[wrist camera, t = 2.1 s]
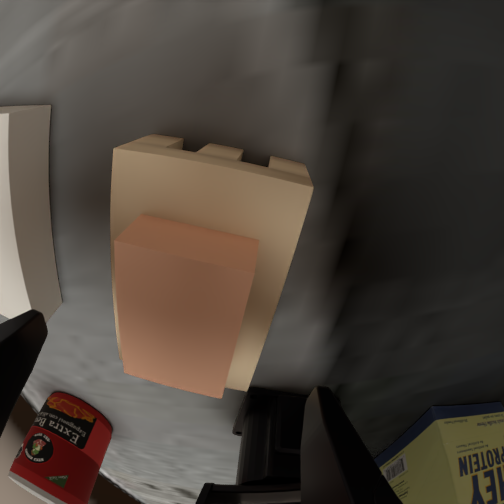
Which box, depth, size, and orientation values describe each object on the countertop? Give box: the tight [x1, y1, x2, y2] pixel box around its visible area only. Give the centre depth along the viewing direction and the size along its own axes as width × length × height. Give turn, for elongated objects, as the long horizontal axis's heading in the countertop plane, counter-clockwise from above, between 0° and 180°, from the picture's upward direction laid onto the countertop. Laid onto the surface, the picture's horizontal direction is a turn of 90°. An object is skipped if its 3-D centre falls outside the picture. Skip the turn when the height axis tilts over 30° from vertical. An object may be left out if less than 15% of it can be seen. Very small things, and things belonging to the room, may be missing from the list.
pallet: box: [110, 134, 314, 392], centre depth 13 cm, size 10×6×4 cm, turn 168°
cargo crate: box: [114, 214, 259, 399], centre depth 10 cm, size 6×4×2 cm, turn 168°
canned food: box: [8, 392, 112, 504], centre depth 20 cm, size 8×8×11 cm
